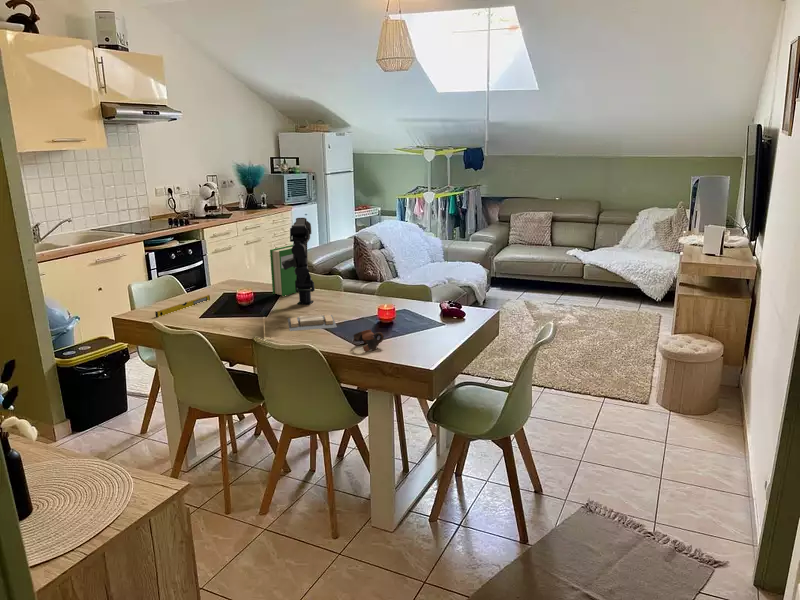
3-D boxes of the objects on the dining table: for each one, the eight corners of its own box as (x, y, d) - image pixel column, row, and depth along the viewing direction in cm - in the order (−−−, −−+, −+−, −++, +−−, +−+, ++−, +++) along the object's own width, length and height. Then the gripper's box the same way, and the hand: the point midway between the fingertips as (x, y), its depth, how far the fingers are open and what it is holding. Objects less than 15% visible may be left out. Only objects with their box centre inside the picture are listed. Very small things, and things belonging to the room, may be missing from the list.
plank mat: (287, 320, 272) (287, 314, 272) (332, 317, 277) (331, 311, 276) (289, 333, 254) (289, 327, 254) (337, 329, 259) (336, 323, 258)
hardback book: (283, 296, 313) (280, 251, 307) (272, 295, 317) (269, 249, 311) (306, 289, 327) (303, 245, 321) (296, 287, 331) (293, 244, 325)
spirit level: (157, 318, 279) (157, 311, 279) (155, 317, 280) (155, 311, 279) (210, 300, 308) (209, 295, 307) (208, 300, 309) (207, 294, 308)
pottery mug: (357, 354, 231) (350, 334, 232) (358, 357, 240) (351, 337, 242) (387, 344, 232) (380, 324, 234) (386, 347, 242) (380, 328, 243)
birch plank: (299, 316, 268) (300, 321, 260) (321, 314, 270) (323, 319, 262) (299, 320, 268) (300, 325, 261) (322, 318, 270) (323, 324, 263)
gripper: (281, 249, 284) (283, 282, 288) (282, 257, 267) (285, 291, 271) (305, 248, 287) (306, 280, 291) (308, 256, 269) (310, 290, 273)
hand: (301, 285), depth 281 cm, fingers closed
